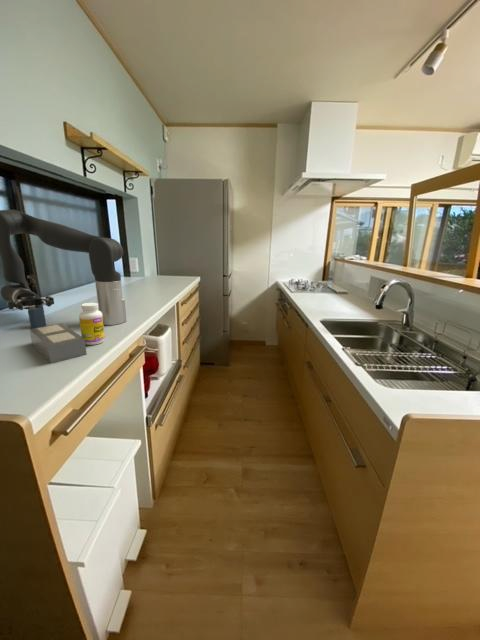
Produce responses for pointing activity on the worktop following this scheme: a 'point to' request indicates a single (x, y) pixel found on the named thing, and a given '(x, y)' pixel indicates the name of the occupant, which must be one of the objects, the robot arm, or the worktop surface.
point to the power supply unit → (58, 342)
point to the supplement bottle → (91, 324)
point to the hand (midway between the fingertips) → (35, 305)
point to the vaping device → (37, 313)
